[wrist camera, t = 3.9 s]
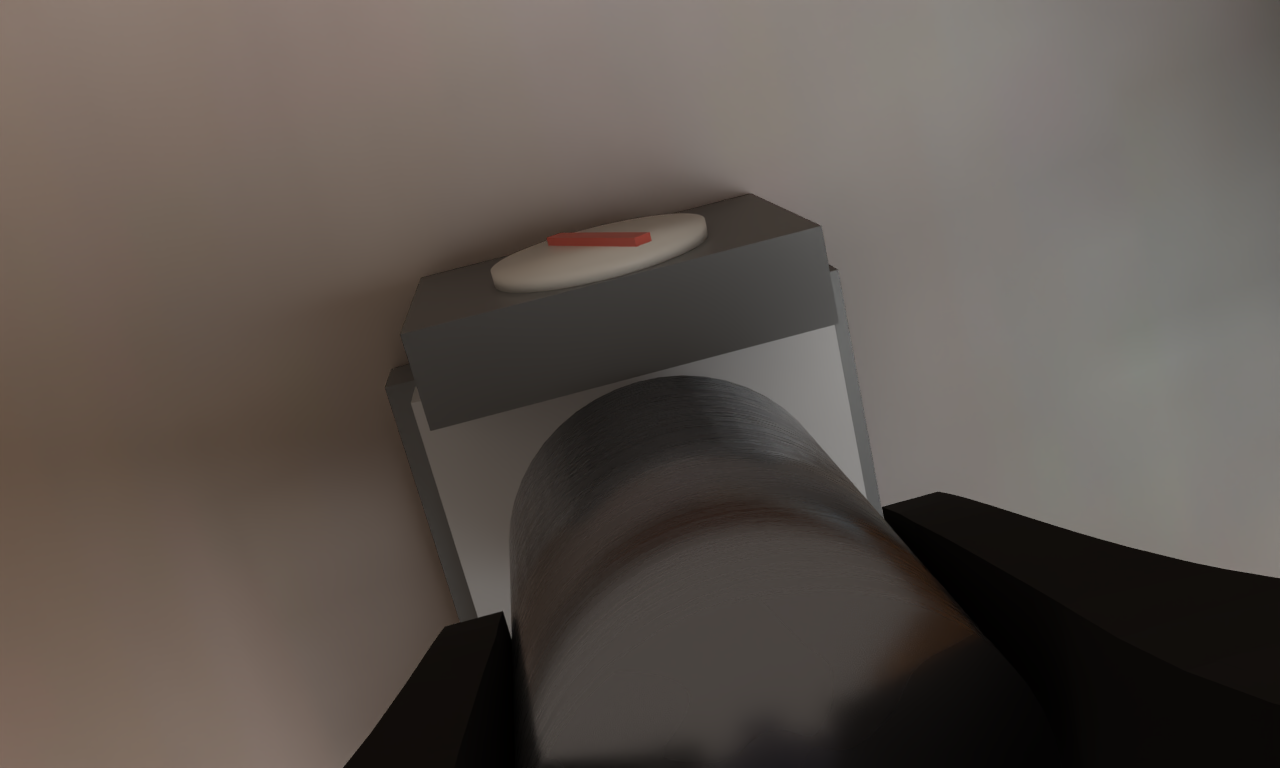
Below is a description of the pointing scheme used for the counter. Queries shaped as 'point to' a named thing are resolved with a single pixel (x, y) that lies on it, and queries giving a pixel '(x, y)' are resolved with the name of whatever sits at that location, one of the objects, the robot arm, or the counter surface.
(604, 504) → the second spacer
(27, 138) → the counter surface
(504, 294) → the dial scale
